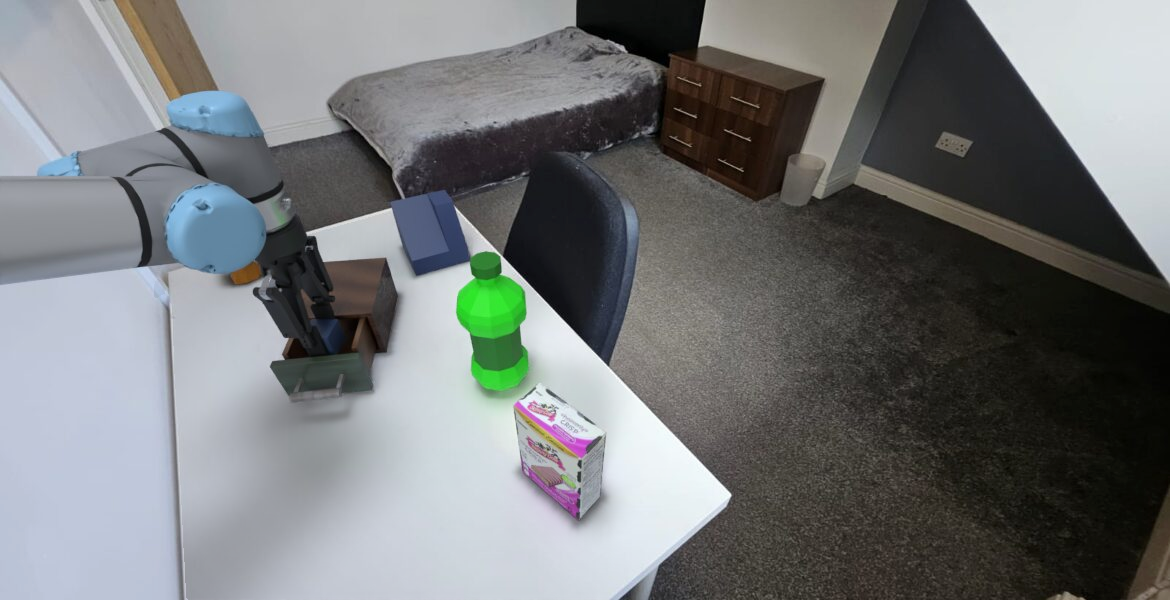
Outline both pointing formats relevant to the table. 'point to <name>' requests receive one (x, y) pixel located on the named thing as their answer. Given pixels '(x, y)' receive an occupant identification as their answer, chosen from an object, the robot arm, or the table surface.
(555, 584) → the table surface
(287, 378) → the drawer
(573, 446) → the candy bar box
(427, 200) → the phone stand
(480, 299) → the plastic bottle
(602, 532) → the table surface
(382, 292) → the cabinet
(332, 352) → the block
